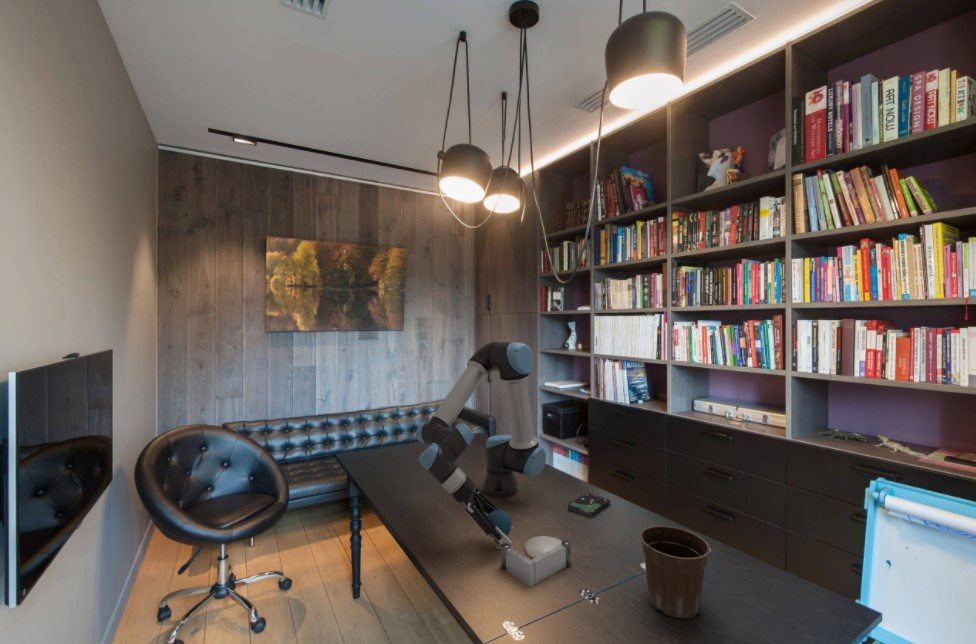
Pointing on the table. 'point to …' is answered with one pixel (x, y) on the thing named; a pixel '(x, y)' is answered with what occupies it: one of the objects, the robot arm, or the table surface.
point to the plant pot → (674, 569)
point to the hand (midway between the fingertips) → (509, 537)
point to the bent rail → (535, 563)
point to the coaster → (540, 545)
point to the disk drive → (589, 505)
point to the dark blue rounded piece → (500, 523)
